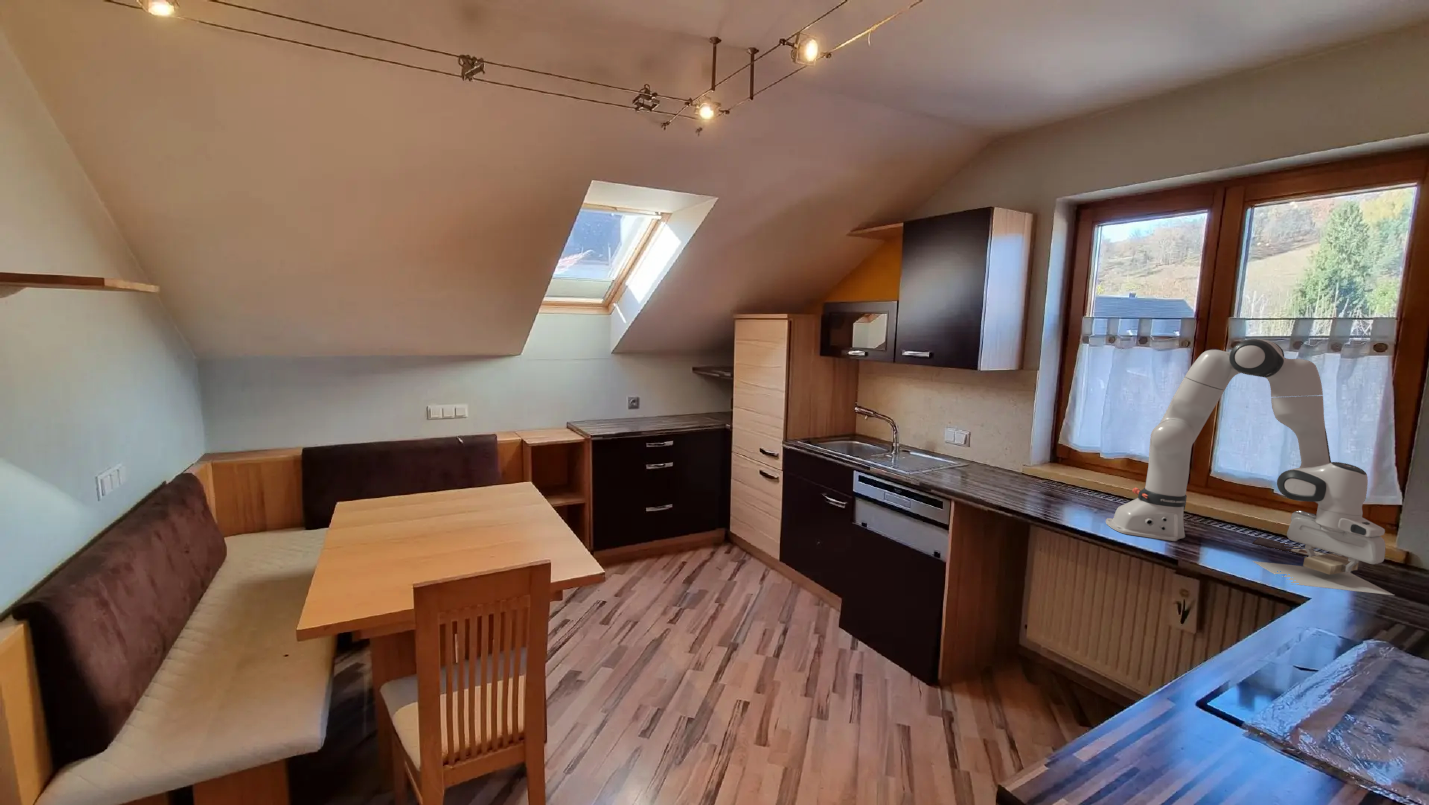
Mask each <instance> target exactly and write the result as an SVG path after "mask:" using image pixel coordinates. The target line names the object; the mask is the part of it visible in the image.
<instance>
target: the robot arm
mask: <svg viewBox="0 0 1429 805" xmlns="http://www.w3.org/2000/svg"><path fill="white" fill-rule="evenodd" d="M1239 374H1242V375H1243V374H1244V375H1247V376H1255V377H1260V378H1265V379H1266V380H1267V381H1268V383H1269V387H1270V397H1271V398H1270V399H1271V400H1270V401H1271V408H1272V413H1273V415H1274V418H1275V419H1276V420H1277V421H1278V422H1279V423H1281V424H1282V425H1284V426H1285V427H1287V428H1288V429H1290V430H1291V431H1292V432H1293V433H1294V435H1295V436H1296V438H1297V441H1298V450H1299V456H1300V460H1301V461H1300V462H1301V463H1300V466H1299V467H1296V468H1291V469H1288V470H1285V471H1283V472H1281V473H1280V475H1278V477H1277V479H1276V486H1277V489H1278V491H1279V492H1280V494H1281V495H1282V496H1283V497H1286V498H1288V499H1290V500H1292V501H1297V502H1310V503H1311V502H1313V503H1316V504H1317V509H1316V510H1317V511H1316V513H1311V512H1306V511H1304V510H1298V511H1297V510H1296V511H1294V512H1292V514H1291V516H1290V517H1291V518H1290V521H1291V522H1290V524H1289V527H1288V529H1287V532H1286V538H1288V539H1289V540H1290V541H1294V542H1296V543H1300V544H1303V545H1305V546H1304V548H1305V549H1306V551H1307V553H1308V555H1309V556H1308V557H1312V556H1317V555H1315V553H1314V549H1315V550H1316V549H1320V550H1323V551H1325V552H1330V553H1333V554H1337V555H1340V556H1343V557H1346V558H1348V561H1351V562H1350V563H1349V564H1347V565H1346V564H1345V565H1342V566H1341V571H1344V572H1347V573H1352V571H1351V570H1352V567H1353V566H1354V565H1356V564H1357V563H1358V562H1359V563H1360V562H1363V563H1366V564H1369V565H1378V564H1382V563H1383V562H1384V561H1385V556H1386V542H1385V539H1384V537H1382V536H1384V535H1385V532H1386V529H1385V528H1383V527H1382V526H1380V525H1378V524H1376V523H1374V522H1372V521H1370V520H1368V519H1366V518H1365V517H1363V504H1364V502H1365V501H1366V499H1367V495H1368V494H1367V493H1368V486H1369V485H1368V484H1369V483H1368V482H1369V479H1368V474H1367V473H1366V471H1365V470H1364V469H1362V468H1360V467H1359V466H1356V465H1353V464H1350V463H1347V462H1346V463H1345V462H1341V461H1332V460H1331V454H1330V453H1331V452H1330V447H1329V441H1328V435H1327V434H1328V433H1327V428H1326V423H1325V422H1326V421H1325V414H1324V412H1325V411H1324V410H1325V408H1324V406H1325V405H1324V396H1323V395H1324V393H1323V386H1322V380H1321V376H1320V372H1319V370H1318V368H1317V365H1316V363H1314V362H1312V361H1310V360H1307V359H1303V358H1286V357H1285V353H1284V350H1283V349H1282V347H1281V346H1280V345H1278V344H1277V343H1276V342H1273V341H1270V340H1268V339H1265V338H1264V339H1263V338H1252V339H1246V340H1243V341H1240V342H1238V343H1237V344H1236V345H1235V346H1234V347H1233V348H1232V349H1231V351H1224V350H1220V349H1208V350H1205V351H1204V352H1202V353H1201V354H1200V355H1199V356H1198V357H1197V359H1196V360H1195V361H1194V362H1193V363H1192V364H1191V366H1190V368H1189V369H1188V371H1187V372H1186V374H1185V376H1184V377H1183V379H1182V381H1181V382H1180V384H1179V386H1178V387H1177V390H1176V392H1175V393H1174V395H1173V396H1172V398H1171V401H1170V403H1169V405H1168V407H1167V409H1166V410H1165V413H1164V414H1163V416H1162V419H1161V420H1160V422H1159V423H1158V425H1156V426H1155V427H1154V428H1153V429H1152V430H1151V433H1150V437H1149V438H1150V441H1149V452H1148V468H1147V474H1146V479H1145V487H1144V488H1142V489H1139V488H1138V487H1134V488H1132V490H1131V492H1132V493H1133V494H1135V495H1138V496H1137V498H1135V499H1133V500H1131V501H1129V502H1126V503H1124V504H1122V505H1119V506H1118V507H1117V509H1116V510H1115V512H1114V514H1113V518H1112V517H1111V518H1109V517H1107V518H1106V519H1105V524H1106V525H1107V526H1108V527H1110V528H1111V529H1113V530H1115V531H1116V532H1119V533H1121V534H1125V535H1130V536H1131V535H1132V536H1137V537H1144V538H1150V539H1157V540H1163V541H1170V542H1171V541H1172V542H1177V541H1178V540H1180V539H1184V538H1186V533H1185V529H1184V511H1185V509H1186V505H1187V498H1188V496H1187V486H1188V482H1189V477H1190V476H1189V474H1190V464H1191V455H1192V448H1193V444H1194V443H1195V441H1196V440H1197V438H1198V436H1199V435H1200V433H1201V431H1202V430H1203V427H1204V426H1205V424H1206V423H1207V421H1208V419H1209V418H1210V416H1211V414H1212V412H1213V410H1214V408H1216V406H1217V404H1218V402H1220V401H1219V400H1220V399H1221V397H1222V395H1223V394H1224V392H1225V391H1226V389H1227V387H1228V385H1229V384H1230V382H1231V381H1232V379H1234V377H1235V376H1237V375H1239Z"/></svg>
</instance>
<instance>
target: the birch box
mask: <svg viewBox="0 0 1429 805" xmlns="http://www.w3.org/2000/svg"><path fill="white" fill-rule="evenodd" d="M1348 558H1349V557H1346V556H1343V555H1339V554H1336V553H1333V552H1330V553H1328V554H1324V555H1318V556H1312V557H1304V559H1303V564H1302V566H1305V567H1308V568H1311V569H1314V570H1317V571H1320V572H1323V573H1326V574H1329V575H1331V574H1336V573H1342V572H1344V571H1341V566H1342V565H1345V564H1346V565H1347V564H1349V563H1350V562H1351V561H1348ZM1359 564H1360V561H1359V562H1358V563H1357V564H1356V565H1354V566H1353V567H1352V570H1351V572H1353V571H1358V568H1359Z"/></svg>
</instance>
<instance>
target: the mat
mask: <svg viewBox="0 0 1429 805" xmlns="http://www.w3.org/2000/svg"><path fill="white" fill-rule="evenodd" d="M1252 562H1253V563H1254V564H1256V565H1257V566H1260V567H1261V568H1263V569H1264V570H1266V571H1268V572H1270V573H1271V574H1274V575H1275V574H1287V576H1286V575H1285V576H1284V577H1291V578H1290V579H1289V580H1293V582H1291V583H1299V584H1296V586H1303V585H1304V586H1305V587H1312V588H1313V587H1315V588H1323V589H1333V590H1341V591H1342V590H1343V591H1351V592H1358V593H1359V592H1360V593H1361V592H1363V593H1370V594H1378V595H1387V596H1388V595H1389V596H1394V594H1393V593H1392V592H1389V591H1387V590H1386V589H1383V588H1381V587H1380V586H1377V585H1376V584H1373V583H1371V582H1369V581H1368V580H1366V579H1363V578H1362V577H1359V576H1358V575H1355V574H1353V573H1352V572H1350V573H1347V572H1342V573H1336V574H1331V575H1329V574H1326V573H1323V572H1320V571H1317V570H1314V569H1311V568H1308V567H1305V566H1303V565H1295V564H1293V565H1292V564H1286V563H1285V564H1284V563H1275V562H1267V561H1266V562H1264V561H1255V560H1252ZM1277 571H1278V572H1277ZM1280 571H1281V572H1280ZM1288 574H1290V575H1288ZM1282 577H1283V576H1282ZM1292 577H1293V578H1292ZM1287 580H1288V579H1287ZM1294 580H1296V581H1294Z"/></svg>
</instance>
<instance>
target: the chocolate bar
mask: <svg viewBox="0 0 1429 805" xmlns="http://www.w3.org/2000/svg"><path fill="white" fill-rule="evenodd" d="M1280 542H1281V541H1277V540H1274V539H1270V538H1266V537H1261V536H1259V537H1257V538H1256V539H1255V540H1254V541H1252V545H1256V546H1259V545H1261V546H1260V547H1263V546H1264V548H1268V549H1271V548H1275V549H1279V550H1282V551H1281V552H1283V551H1289V552H1292V553H1296V554H1299V555H1302V556H1301V557H1303V556H1307V557H1308V556H1309V555H1308V553H1307V551H1306V549H1286V548H1304V547H1302V546H1298V545H1295V546H1296V547H1295V546H1293V547H1289V546H1284V545H1292V544H1290V543H1287V544H1285V543H1286V542H1283V543H1280ZM1275 549H1274V550H1275ZM1279 550H1278V551H1279ZM1313 550H1314V549H1313ZM1314 553H1315V555H1317V556H1318V555H1324V554H1329V553H1327V552H1323V551H1318V550H1316V549H1315V550H1314ZM1299 555H1298V556H1299Z"/></svg>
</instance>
